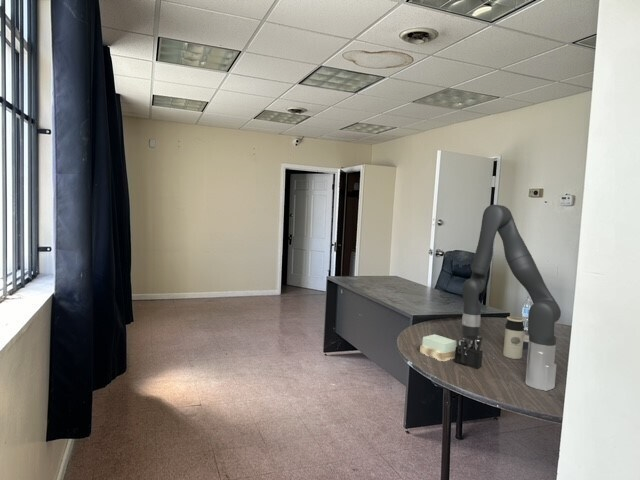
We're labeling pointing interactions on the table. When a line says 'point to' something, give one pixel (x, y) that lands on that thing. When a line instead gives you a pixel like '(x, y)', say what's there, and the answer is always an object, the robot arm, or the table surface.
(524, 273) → the robot arm
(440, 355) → the block bottom
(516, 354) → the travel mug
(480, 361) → the digital camera
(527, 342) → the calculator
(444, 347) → the block top
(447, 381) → the table surface
